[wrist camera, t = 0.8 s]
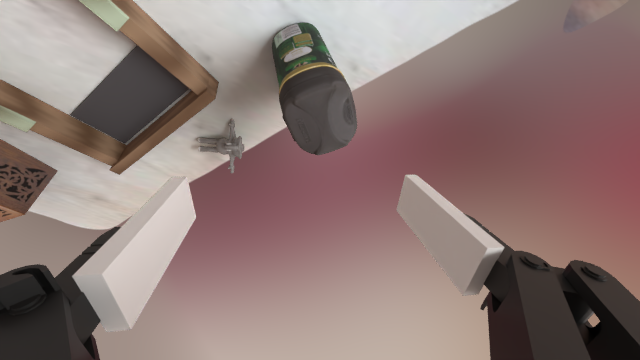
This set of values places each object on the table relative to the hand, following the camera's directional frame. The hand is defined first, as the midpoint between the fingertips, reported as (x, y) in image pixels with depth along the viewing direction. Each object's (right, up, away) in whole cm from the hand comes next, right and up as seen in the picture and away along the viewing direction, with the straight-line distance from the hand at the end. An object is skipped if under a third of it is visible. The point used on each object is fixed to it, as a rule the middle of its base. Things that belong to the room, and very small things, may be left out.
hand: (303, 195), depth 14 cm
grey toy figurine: (-18, +9, +30) cm, 36 cm away
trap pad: (-28, +14, +21) cm, 38 cm away
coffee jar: (-2, +20, +21) cm, 30 cm away
